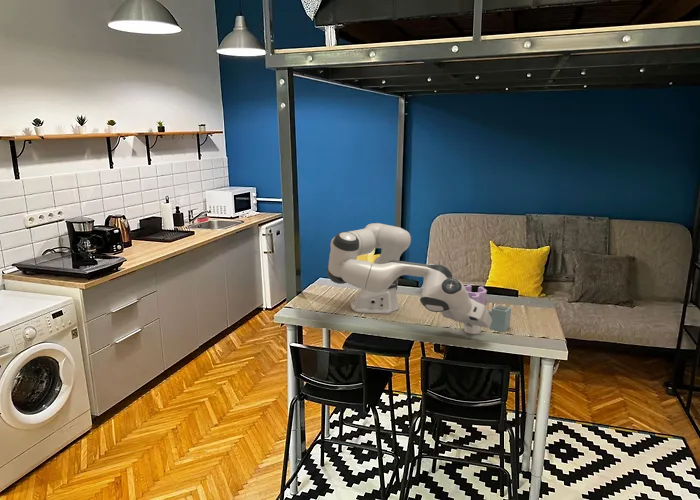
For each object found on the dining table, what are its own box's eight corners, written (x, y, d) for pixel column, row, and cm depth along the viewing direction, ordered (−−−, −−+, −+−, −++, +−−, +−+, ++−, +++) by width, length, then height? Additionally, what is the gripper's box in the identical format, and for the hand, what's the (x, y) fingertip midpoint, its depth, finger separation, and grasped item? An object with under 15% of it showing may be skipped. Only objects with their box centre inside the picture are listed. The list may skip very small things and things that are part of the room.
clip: (481, 312, 232) (482, 298, 230) (454, 308, 236) (455, 294, 235) (487, 300, 250) (488, 287, 248) (462, 297, 254) (463, 284, 253)
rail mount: (504, 332, 208) (506, 310, 206) (454, 320, 220) (456, 299, 218) (510, 326, 214) (513, 305, 212) (462, 315, 227) (464, 295, 225)
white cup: (478, 327, 212) (480, 305, 210) (484, 334, 204) (486, 311, 202) (460, 327, 212) (461, 305, 210) (465, 334, 204) (467, 311, 202)
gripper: (434, 308, 199) (443, 325, 208) (483, 320, 187) (491, 337, 196) (440, 295, 201) (449, 312, 211) (489, 306, 189) (496, 324, 199)
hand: (470, 324), depth 203 cm, fingers closed
